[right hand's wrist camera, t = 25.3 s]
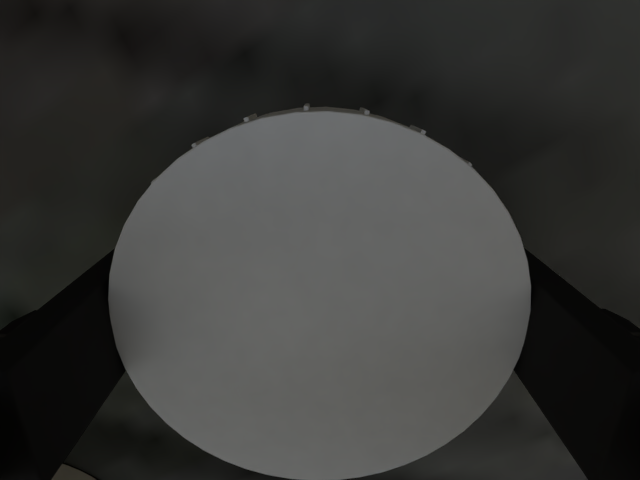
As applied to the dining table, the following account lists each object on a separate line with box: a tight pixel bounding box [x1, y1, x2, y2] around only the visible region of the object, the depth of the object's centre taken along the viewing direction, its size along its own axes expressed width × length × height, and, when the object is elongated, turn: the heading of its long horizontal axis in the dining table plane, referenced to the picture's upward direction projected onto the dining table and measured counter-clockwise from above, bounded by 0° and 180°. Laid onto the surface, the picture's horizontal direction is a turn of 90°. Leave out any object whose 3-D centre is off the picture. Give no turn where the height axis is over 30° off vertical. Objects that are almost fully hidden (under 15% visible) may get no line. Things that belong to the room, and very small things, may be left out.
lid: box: [108, 104, 531, 480], centre depth 11 cm, size 11×11×2 cm
